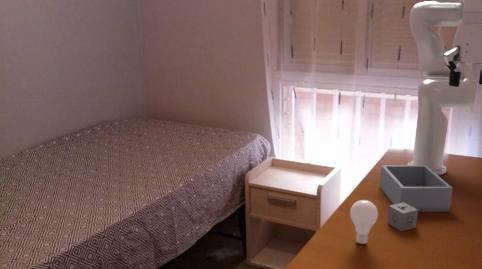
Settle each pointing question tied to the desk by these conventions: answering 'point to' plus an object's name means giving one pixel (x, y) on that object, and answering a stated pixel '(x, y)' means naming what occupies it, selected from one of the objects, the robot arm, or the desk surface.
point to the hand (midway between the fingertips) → (469, 85)
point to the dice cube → (402, 216)
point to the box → (416, 187)
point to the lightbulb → (363, 218)
